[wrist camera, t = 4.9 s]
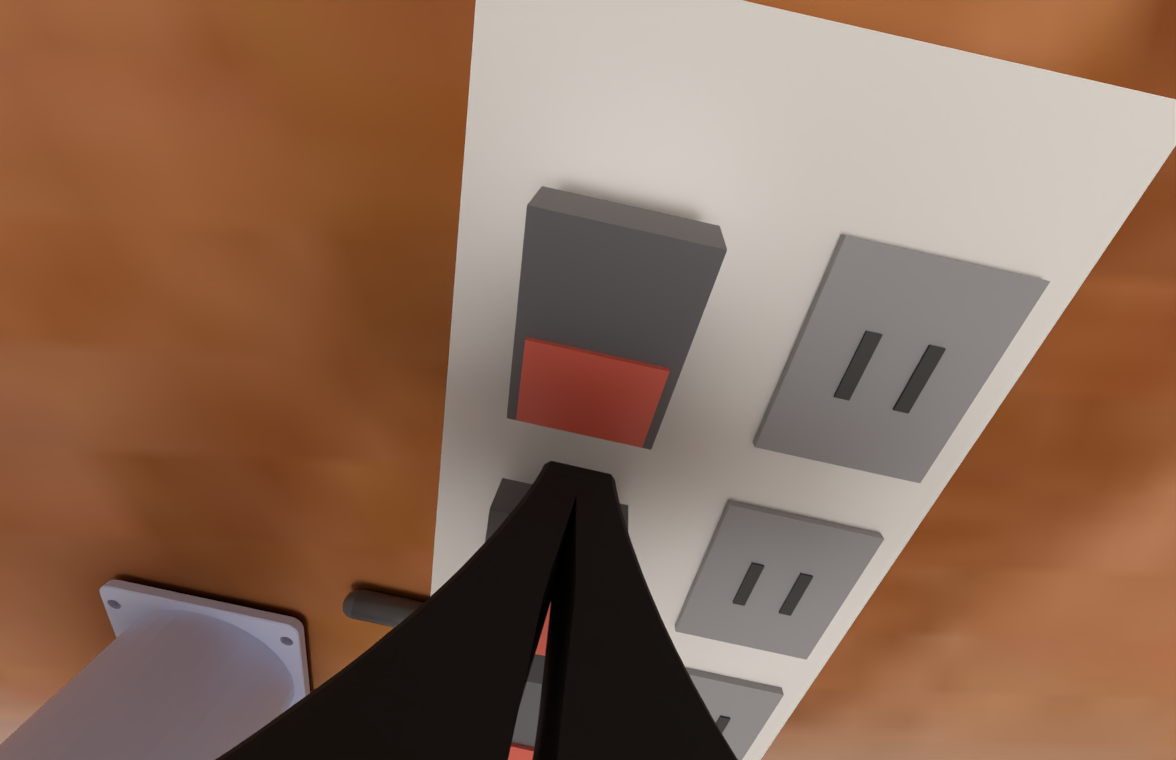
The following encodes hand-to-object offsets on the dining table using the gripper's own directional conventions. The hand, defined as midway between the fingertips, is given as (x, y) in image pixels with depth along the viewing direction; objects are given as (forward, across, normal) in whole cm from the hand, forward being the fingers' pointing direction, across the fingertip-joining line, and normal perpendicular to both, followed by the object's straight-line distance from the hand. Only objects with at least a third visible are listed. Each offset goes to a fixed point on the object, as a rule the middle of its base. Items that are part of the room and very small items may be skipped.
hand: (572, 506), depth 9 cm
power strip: (+5, 0, +2) cm, 5 cm away
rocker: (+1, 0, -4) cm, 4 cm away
